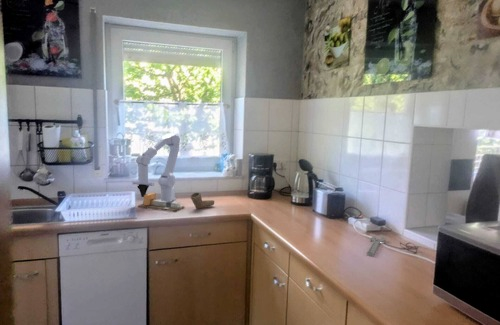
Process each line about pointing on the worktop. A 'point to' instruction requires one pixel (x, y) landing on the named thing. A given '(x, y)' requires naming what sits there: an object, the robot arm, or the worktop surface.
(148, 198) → the collar
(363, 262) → the worktop surface
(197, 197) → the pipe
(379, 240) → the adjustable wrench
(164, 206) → the stand
